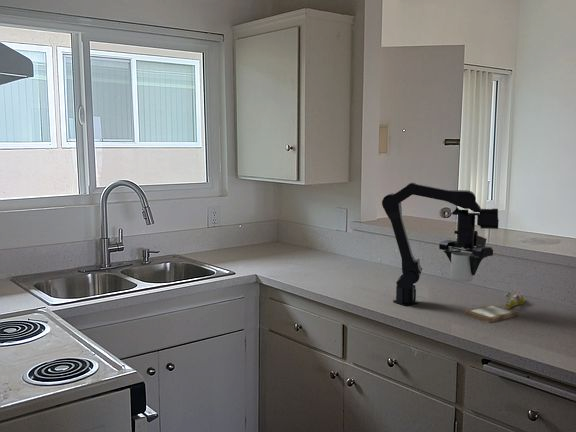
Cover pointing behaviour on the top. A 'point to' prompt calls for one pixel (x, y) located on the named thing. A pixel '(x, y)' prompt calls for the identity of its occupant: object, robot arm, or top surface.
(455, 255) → the cup
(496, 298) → the top surface
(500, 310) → the wooden picture frame
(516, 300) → the toy
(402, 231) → the robot arm
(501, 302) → the top surface
